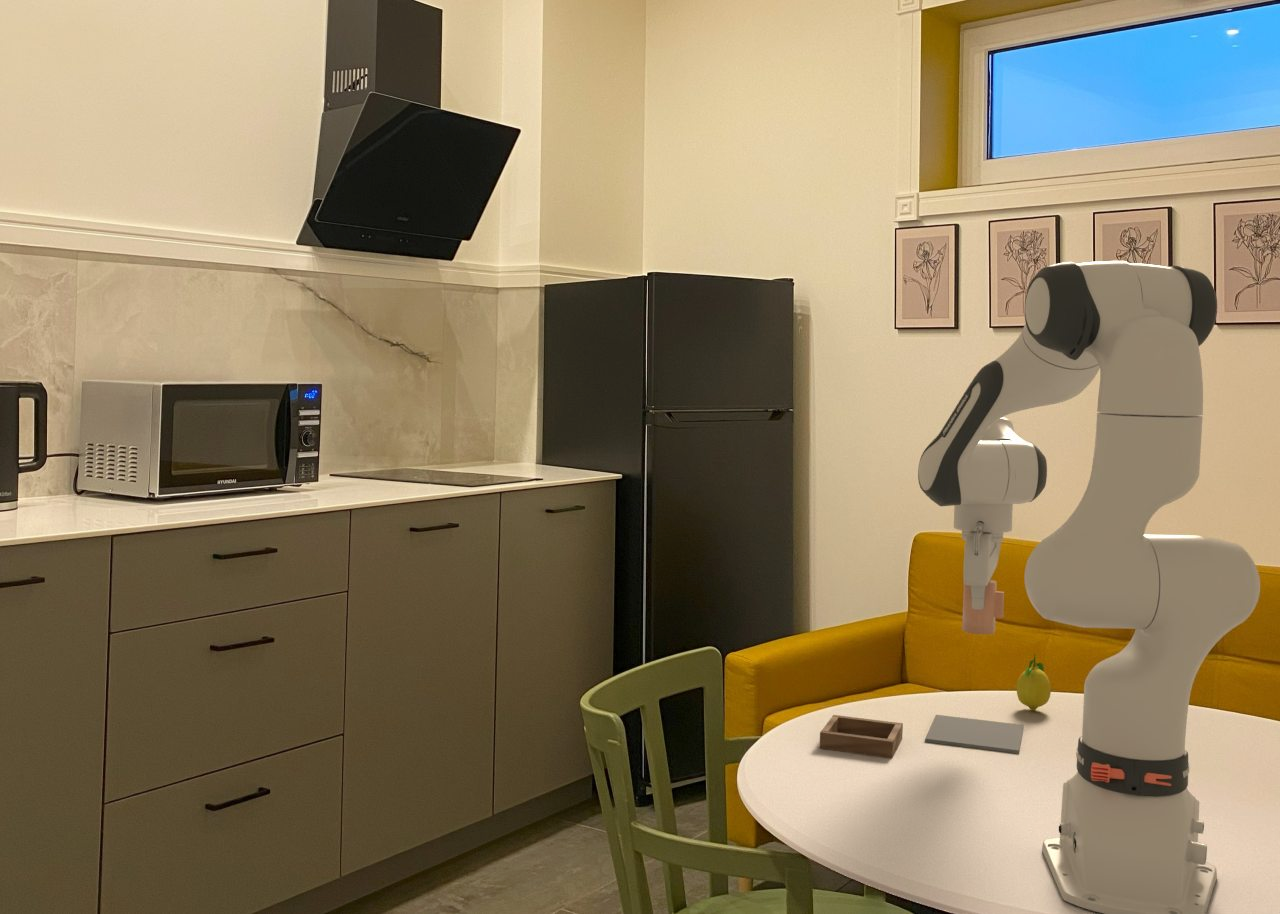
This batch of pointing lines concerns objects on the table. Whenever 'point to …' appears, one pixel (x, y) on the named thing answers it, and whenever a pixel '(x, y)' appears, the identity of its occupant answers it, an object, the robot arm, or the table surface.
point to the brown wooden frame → (847, 731)
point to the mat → (975, 733)
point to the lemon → (1033, 686)
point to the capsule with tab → (983, 618)
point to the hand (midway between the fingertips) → (979, 605)
